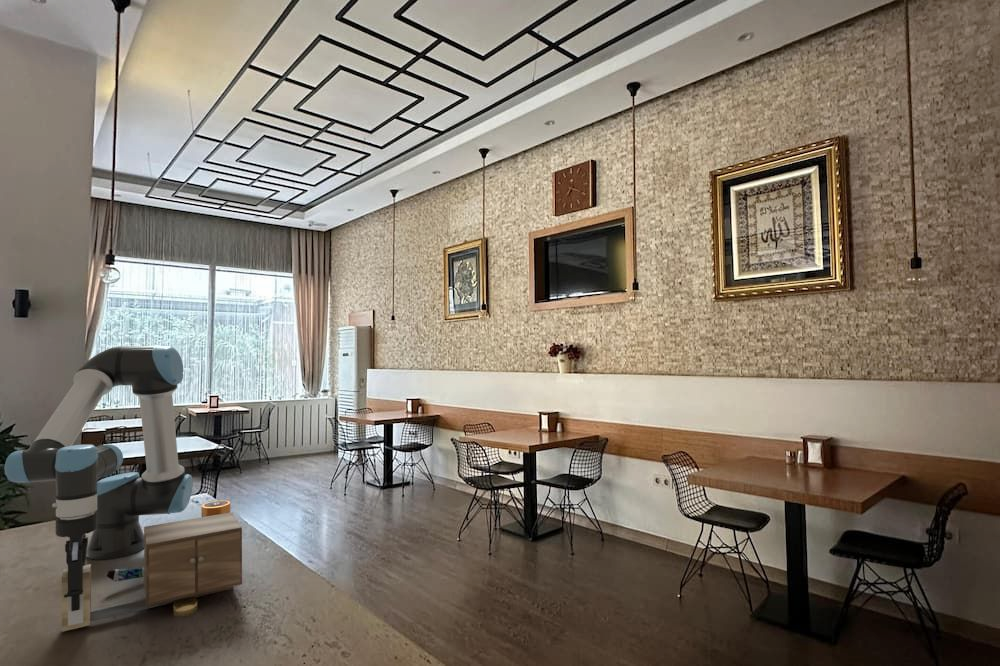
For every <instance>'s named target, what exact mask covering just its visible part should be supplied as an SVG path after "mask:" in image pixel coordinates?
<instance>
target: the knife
mask: <svg viewBox="0 0 1000 666" xmlns="http://www.w3.org/2000/svg"><path fill="white" fill-rule="evenodd" d="M106 577H107V578H108V579H111V580H112V581H114V582H121V581H125V580H126V581H127V580H133V579H139V578H144V567H133V568H120V569H119V568H118V569H117V568H116V569H111V570H108V571H107V574H106Z"/></svg>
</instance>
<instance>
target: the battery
mask: <svg viewBox="0 0 1000 666" xmlns="http://www.w3.org/2000/svg"><path fill="white" fill-rule="evenodd" d="M225 513H231V501H229V500H214V501H209V502H206V503H203V504H202V505H201V517H207V516H213V515H219V514H225Z"/></svg>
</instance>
